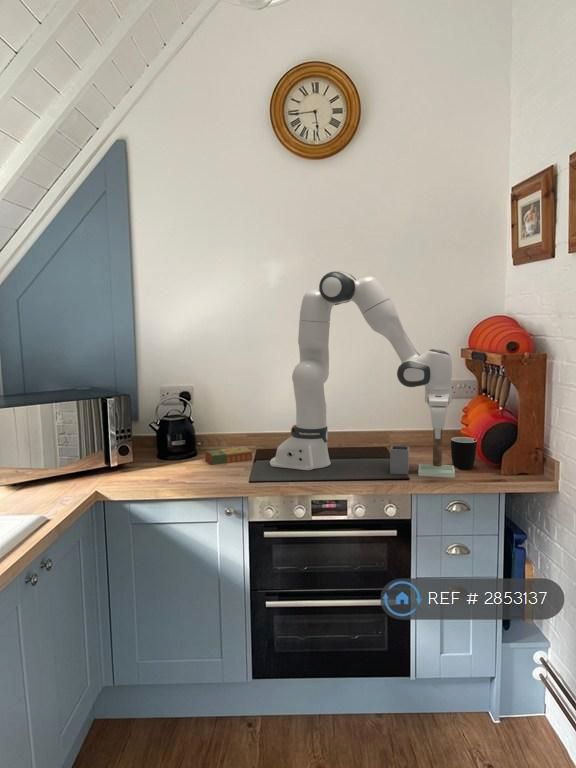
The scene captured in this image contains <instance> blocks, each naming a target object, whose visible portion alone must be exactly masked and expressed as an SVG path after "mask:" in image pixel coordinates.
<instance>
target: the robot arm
mask: <svg viewBox="0 0 576 768" xmlns="http://www.w3.org/2000/svg"><path fill="white" fill-rule="evenodd" d="M349 302H353V303H354V304H355V305H356V306H357V307H358V309H359V311H360V313H361V315H362V316H363V318H364V321H365V322H366V324H367V325H368V326H369V327H370V328H371V330H372V331H374V332H375V333H377V334H378V335H381V336H383V337H385V338H386V340H387V341H389V343H390V344H391V346H392V348H393V349H394V351H395V353H396V355H397V357H398V358H399V360H400V361H401V364H400V365H399V366H398V368H397V372H396V377H397V379H398V382H400V384H401V385H403V386H404V387H407V388H417V387H422V386H424V402H425V403H427V405H428V407H429V409H430V416H431V417H430V419H431V426H432V429H435V438H436V439H440V434H441V429H442V430H444V428H445V423H446V417H447V409H448V407H449V406H450V404H452V400H453V399H452V398H453V397H452V396H453V394H452V393H453V387H452V377H453V362H452V361H453V360H452V356H451V355H450V354H449V352H447V351H445V350H442V349H433V348H432V349H428V350H427V351H426V352H424V353H422V354H419V353H418V351H417V350H416V348H415V347H414V345H413V343H412V342H411V340H410V337H408V335H407V333H406V331H405V330H404V327H403V324H402V322H401V320H400V317H399V314H398V311H397V309H396V308H395V305H394V303H393V301H392V299H391V297H390V295H389V294H388V292H387V291H386V289H385V288H384V286H383V285H382V284H381V283H380V281H379V280H378V279H377V277H374V276H368V275H367V276H364V277H362V278H360V279H356V278H355V277H354V276H353V275H352V274H350V273H347V272H345V271H341V270H340V271H336V270H335V271H330V272H328V273H326V274H325V275H324V276H322V278H321V279H320V281H319V285H318V289H311V290H308V291H307V292H305V293H304V294H303V297H302V301H301V306H300V311H299V320H298V334H297V335H298V337H297V342H298V349H299V363H298V364H297V365H295V367H294V369H293V371H292V375H291V381H292V384H293V393H294V398H295V410H296V411H295V412H296V415H295V418H296V422H295V423H296V424H293V426H292V427H291V428H290V435H291V436H289V437H288V438H287V439H286V440H284V441H283V442H282V443H281V444H279V445H278V447H277V449H276V452H275V453H276V454H275V456H274V457H272V458H271V459H270V461H269V465H270V466H271V467H275V468H284V469H293V470H302V471H311V470H314V469H315V470H316V469H322V468H326V467H328V466H330V465H331V463H332V462H331V460H330V456H329V451H328V450H329V449H328V440H329V430H328V425H327V403H326V396H325V383H326V382H327V381H328V378H329V374H330V354H329V353H330V352H329V351H330V350H329V341H330V340H329V339H330V329H331V328H330V326H331V325H330V324H331V315H332V314H331V312H332V309H333V307H334V306H338V305H341V304H347V303H349Z"/></svg>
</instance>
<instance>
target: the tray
mask: <svg viewBox="0 0 576 768" xmlns="http://www.w3.org/2000/svg"><path fill="white" fill-rule="evenodd" d="M417 473H418V475H417V476H420V477H435V478H437V477H438V478H452V479H453V478H454V479H455V478H456V472H455V466H454V465H453V464H452V465H449V464H442V466H439V467H438V466H433V463H432V464H428V463H418V471H417Z"/></svg>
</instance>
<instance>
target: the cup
mask: <svg viewBox="0 0 576 768" xmlns="http://www.w3.org/2000/svg"><path fill="white" fill-rule="evenodd" d="M389 456H390V457H389V458H390V460H389V465H390V466H389V474H390V475H391V474H394V475H409V472H410V446H409V445H391V446H390V451H389Z"/></svg>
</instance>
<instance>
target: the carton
mask: <svg viewBox="0 0 576 768" xmlns="http://www.w3.org/2000/svg"><path fill="white" fill-rule="evenodd" d="M252 452H253V451H252V450H251V449H249V448H248V447H246V446H236V447H227V448H220V449H212V450H211V449H210V450H206V451H205V455H204V456H205V457H204V458H205V461H206V462H207V463H209V464H210V465H211V466H216V465H223V464H231V463H239V462H240V463H241V462H248V461H253V453H252Z"/></svg>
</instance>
